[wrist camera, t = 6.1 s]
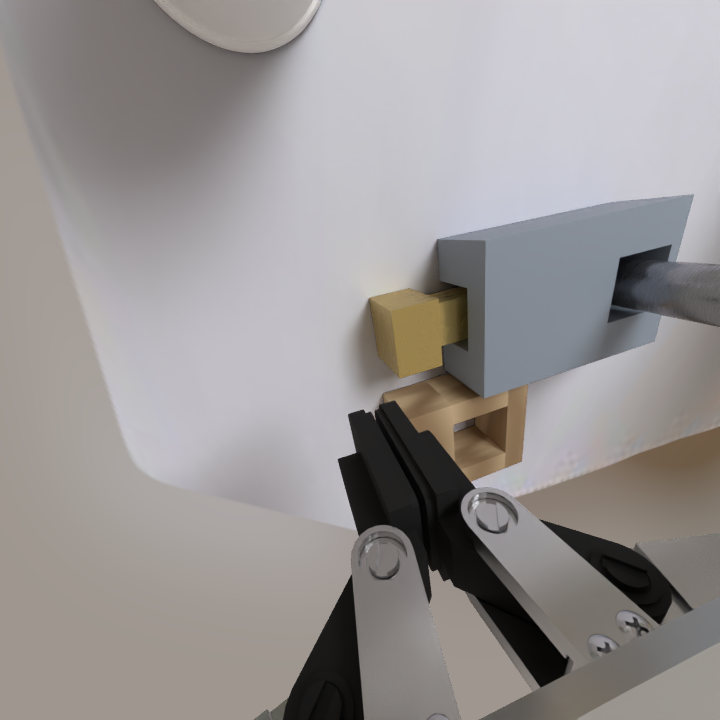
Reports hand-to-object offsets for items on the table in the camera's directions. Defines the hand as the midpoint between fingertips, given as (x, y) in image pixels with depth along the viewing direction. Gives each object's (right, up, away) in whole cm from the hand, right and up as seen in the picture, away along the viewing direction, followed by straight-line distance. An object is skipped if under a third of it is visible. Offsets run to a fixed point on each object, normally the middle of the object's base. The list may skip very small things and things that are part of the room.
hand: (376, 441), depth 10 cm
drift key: (+7, +7, +12) cm, 15 cm away
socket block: (+13, +8, +13) cm, 20 cm away
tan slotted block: (+8, -2, +16) cm, 18 cm away
